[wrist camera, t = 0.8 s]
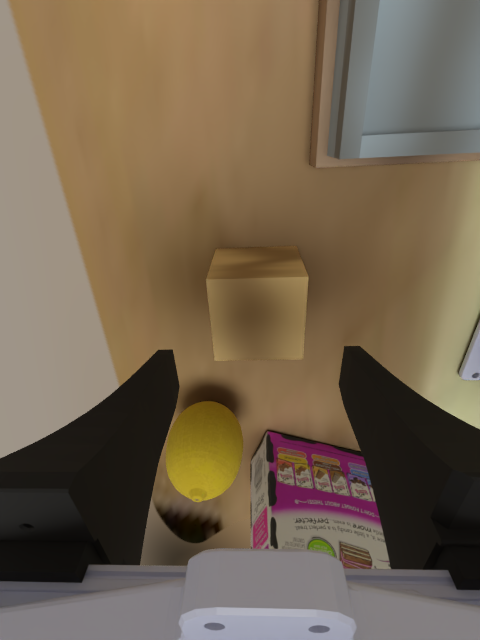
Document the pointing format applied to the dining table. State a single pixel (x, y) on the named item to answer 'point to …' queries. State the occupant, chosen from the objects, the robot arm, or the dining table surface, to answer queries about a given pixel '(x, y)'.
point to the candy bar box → (315, 502)
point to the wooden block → (257, 303)
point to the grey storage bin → (396, 82)
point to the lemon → (204, 450)
